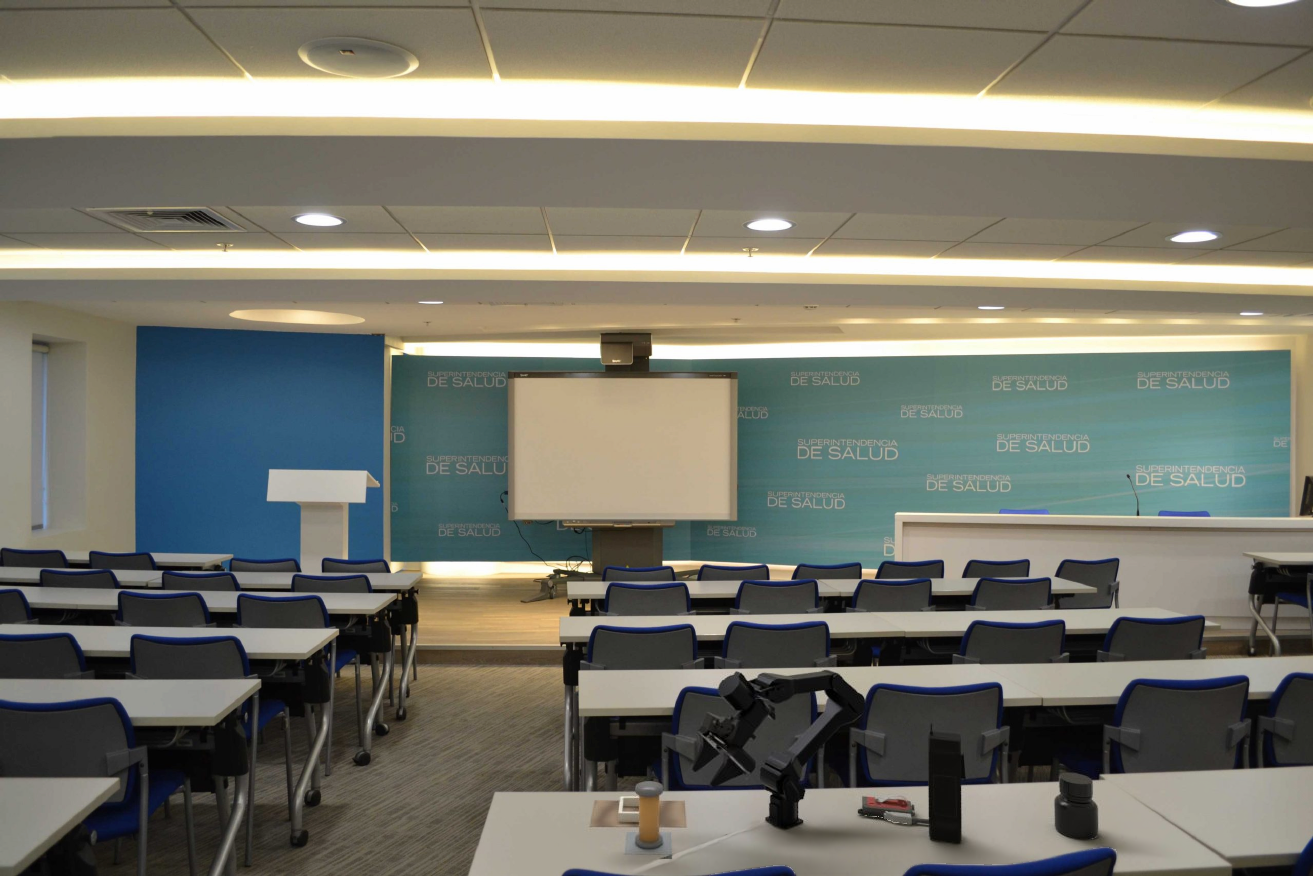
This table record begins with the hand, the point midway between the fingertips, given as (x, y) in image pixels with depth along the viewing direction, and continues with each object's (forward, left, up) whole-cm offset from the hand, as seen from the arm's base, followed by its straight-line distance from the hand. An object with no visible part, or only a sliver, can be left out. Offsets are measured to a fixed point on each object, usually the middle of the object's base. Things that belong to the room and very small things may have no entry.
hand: (702, 778), depth 177 cm
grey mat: (+11, -4, -14) cm, 18 cm away
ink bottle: (-71, +47, -14) cm, 87 cm away
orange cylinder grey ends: (+11, -4, -13) cm, 17 cm away
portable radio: (-45, +31, -14) cm, 57 cm away
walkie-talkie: (-46, +19, -14) cm, 52 cm away
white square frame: (+5, -18, -14) cm, 23 cm away
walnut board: (+5, -18, -14) cm, 23 cm away
